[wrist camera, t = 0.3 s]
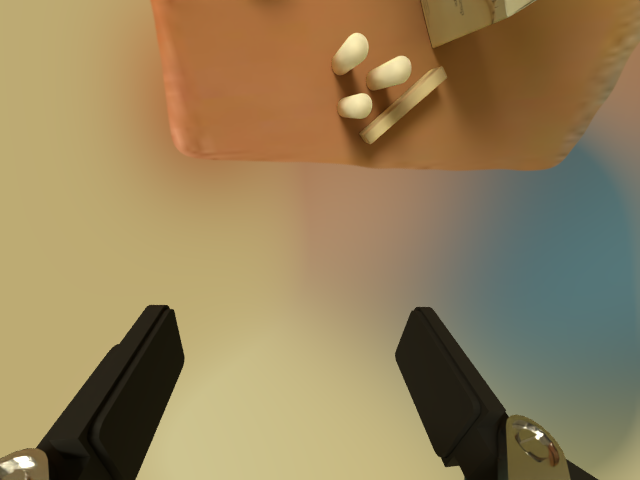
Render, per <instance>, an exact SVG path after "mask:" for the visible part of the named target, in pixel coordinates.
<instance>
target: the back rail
mask: <svg viewBox="0 0 640 480" xmlns="http://www.w3.org/2000/svg"><path fill="white" fill-rule="evenodd" d="M446 78H447V76H446V73H445V71H444V69H443V67H442V66H441V67H438V68H435V69H431V70H429V71H428V72H427V73H426V74H425V75H424V76H423V77H421V78H420V79H419V80H418V81H417V82H416V83H415V84H414V85H413V86H411V87H410V88H409V89H408V90H407V91H406V92H405V93H404V94H403V95H401V96H400V97H399V98H398V99H397V100H396V101H395V102H394V103H392V104H391V105H390V106H389V107H388V108H387V109H386V110H385V111H384V112H382V113H381V114H380V115H379V116H378V117H377V118H376V119H375V120H374V121H372V122H371V123H370V124H369V125H368V126H367V127H366V128H365V129H364V130H362V131H361V132H360V133H359V134H360V136H361V137H362V139H363V140H364V142H366V143H369V144H372V143H373V142H374V141H375V140H376V139H377V138H379V137H380V136H381V135H382V134H383V133H384V132H385V131H387V130H388V129H389V128H390V127H391V126H392V125H393V124H395V123H396V122H397V121H398V120H399V119H400V118H401V117H403V116H404V115H405V114H406V113H407V112H408V111H409V110H411V109H412V108H413V107H414V106H415V105H416V104H417V103H419V102H420V101H421V100H422V99H423V98H424V97H425V96H427V95H428V94H429V93H430V92H431V91H432V90H433V89H435V88H436V87H437V86H438V85H439V84H440V83H442V82H443V81H444V80H445V79H446Z"/></svg>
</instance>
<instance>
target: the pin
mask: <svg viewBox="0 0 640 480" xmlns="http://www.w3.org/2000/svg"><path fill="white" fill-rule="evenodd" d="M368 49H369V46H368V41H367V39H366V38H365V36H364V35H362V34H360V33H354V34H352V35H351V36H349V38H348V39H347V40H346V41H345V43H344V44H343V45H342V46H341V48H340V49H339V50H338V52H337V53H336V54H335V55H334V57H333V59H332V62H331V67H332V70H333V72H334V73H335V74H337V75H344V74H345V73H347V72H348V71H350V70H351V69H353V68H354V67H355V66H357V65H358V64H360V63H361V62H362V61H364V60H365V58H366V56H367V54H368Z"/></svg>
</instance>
